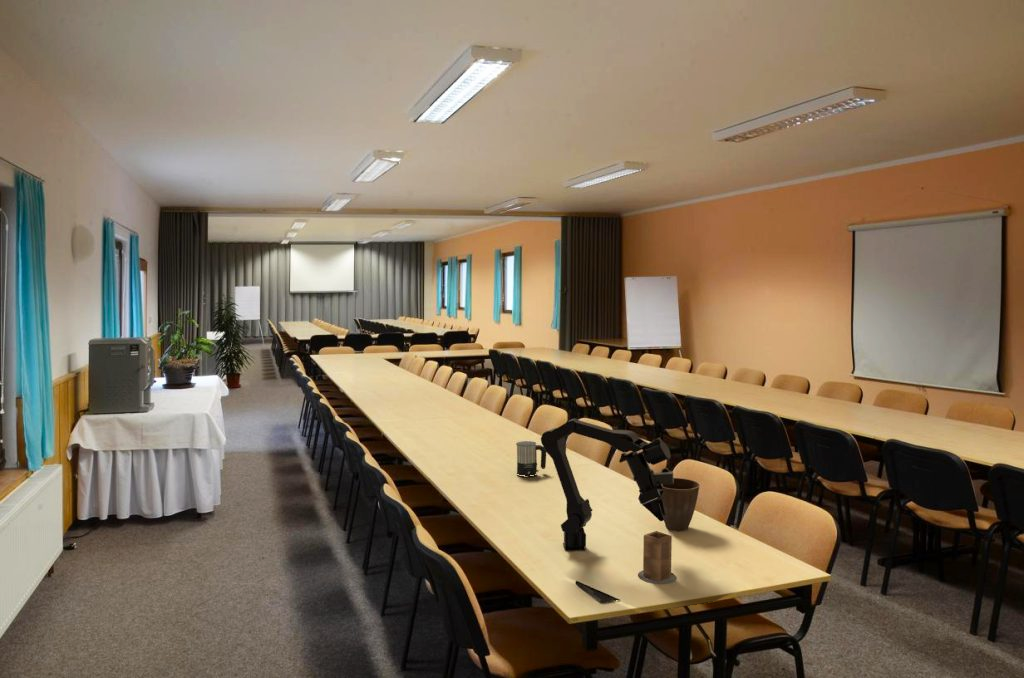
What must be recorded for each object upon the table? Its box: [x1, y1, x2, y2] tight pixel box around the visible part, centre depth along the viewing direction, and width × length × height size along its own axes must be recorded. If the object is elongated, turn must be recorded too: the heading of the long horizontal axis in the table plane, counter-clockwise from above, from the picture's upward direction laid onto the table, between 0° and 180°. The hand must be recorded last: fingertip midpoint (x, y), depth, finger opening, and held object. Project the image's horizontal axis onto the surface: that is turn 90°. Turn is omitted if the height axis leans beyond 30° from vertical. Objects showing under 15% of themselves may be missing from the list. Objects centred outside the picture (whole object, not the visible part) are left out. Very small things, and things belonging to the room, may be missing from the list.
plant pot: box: [659, 477, 700, 532], centre depth 251 cm, size 15×15×16 cm
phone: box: [575, 580, 621, 604], centre depth 198 cm, size 8×1×15 cm
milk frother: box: [515, 440, 547, 476], centre depth 329 cm, size 14×16×15 cm
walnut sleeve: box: [642, 530, 673, 582], centre depth 205 cm, size 6×6×12 cm
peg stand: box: [637, 570, 677, 585], centre depth 206 cm, size 11×11×4 cm
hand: (663, 517), depth 218 cm, fingers open, 9 cm apart
